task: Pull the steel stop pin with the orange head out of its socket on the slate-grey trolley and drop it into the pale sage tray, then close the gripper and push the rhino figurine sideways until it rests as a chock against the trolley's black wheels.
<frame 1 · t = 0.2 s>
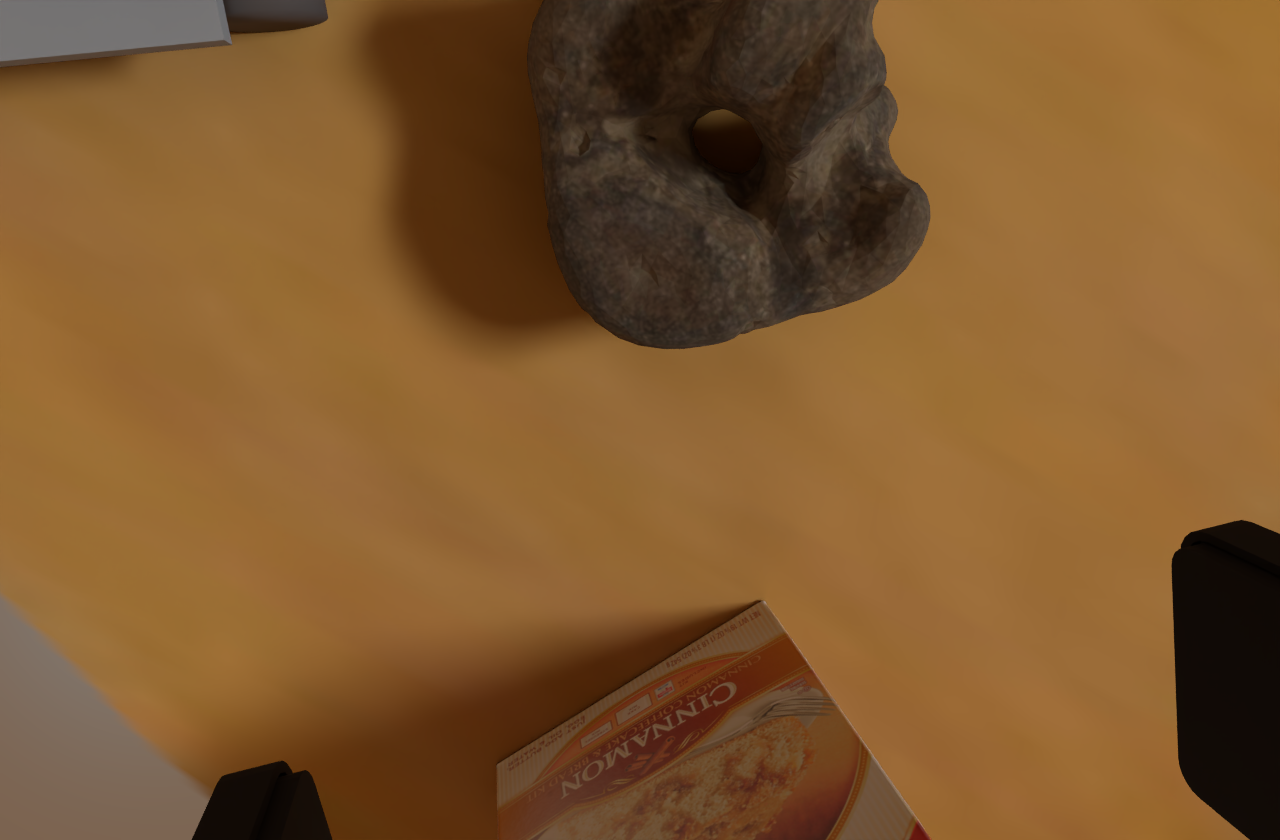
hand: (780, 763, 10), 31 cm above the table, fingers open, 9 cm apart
decorative stone: (687, 161, 39), on the table
coffeecake box: (662, 730, 45), on the table
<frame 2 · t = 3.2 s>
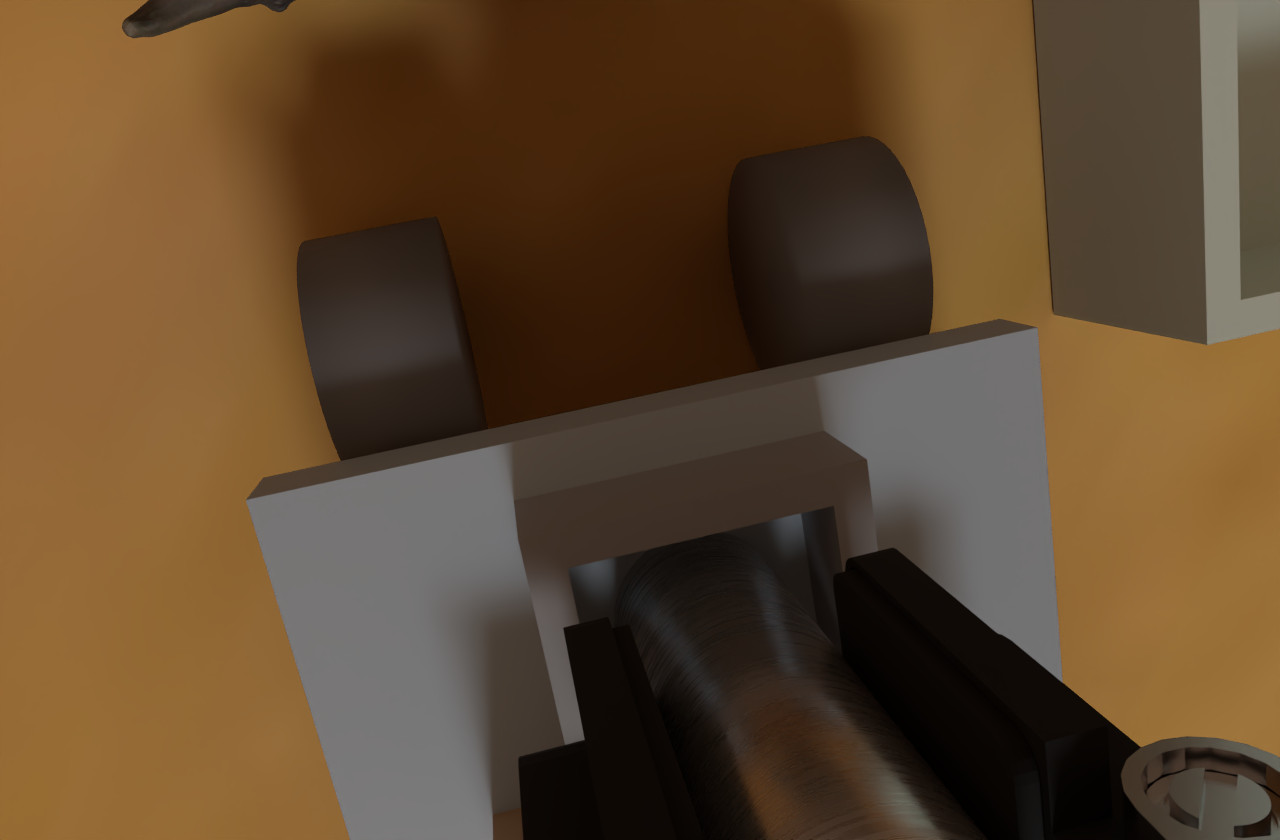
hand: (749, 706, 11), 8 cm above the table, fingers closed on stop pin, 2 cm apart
stop pin: (698, 609, 13), point 5 cm above the table, touching gripper, trolley
trolley: (649, 548, 18), on the table
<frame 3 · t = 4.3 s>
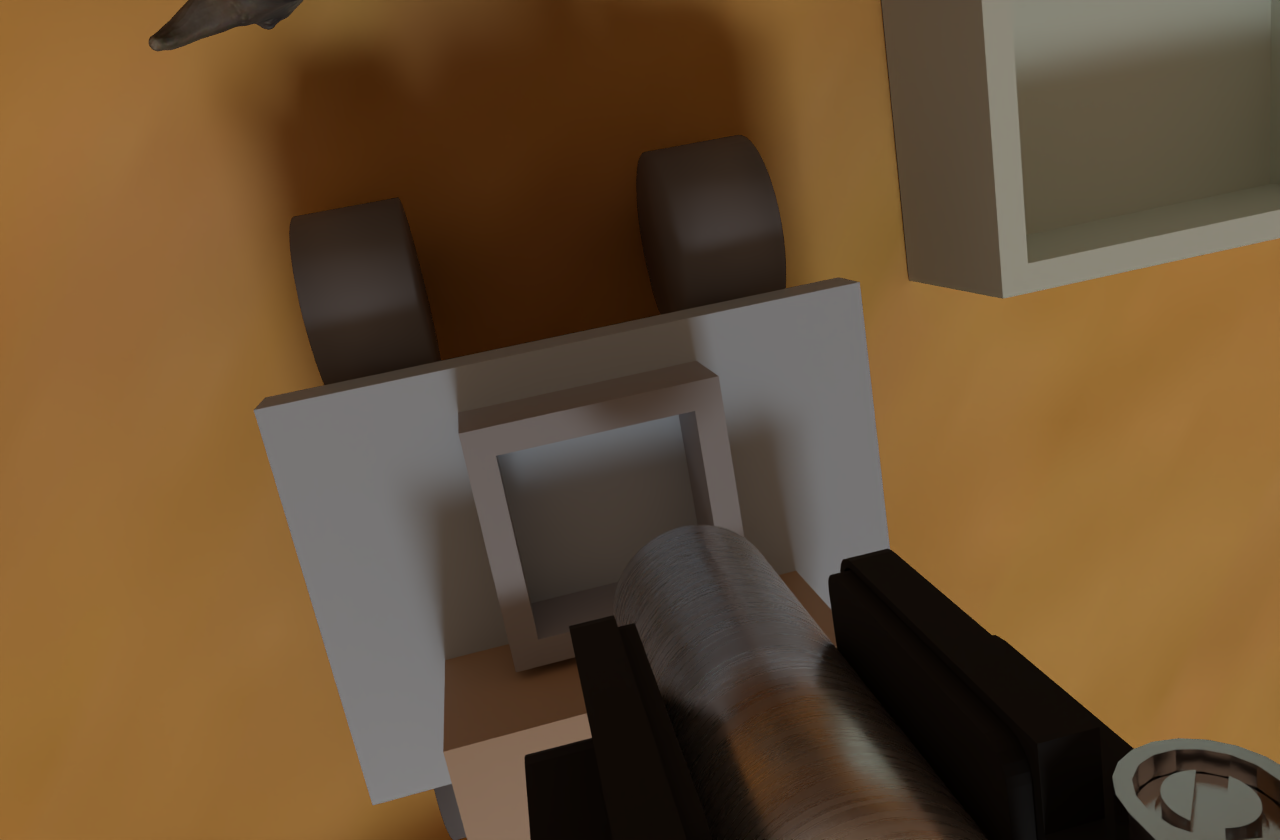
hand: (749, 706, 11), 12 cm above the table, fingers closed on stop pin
stop pin: (695, 603, 13), point 9 cm above the table, touching gripper
trolley: (578, 472, 22), on the table
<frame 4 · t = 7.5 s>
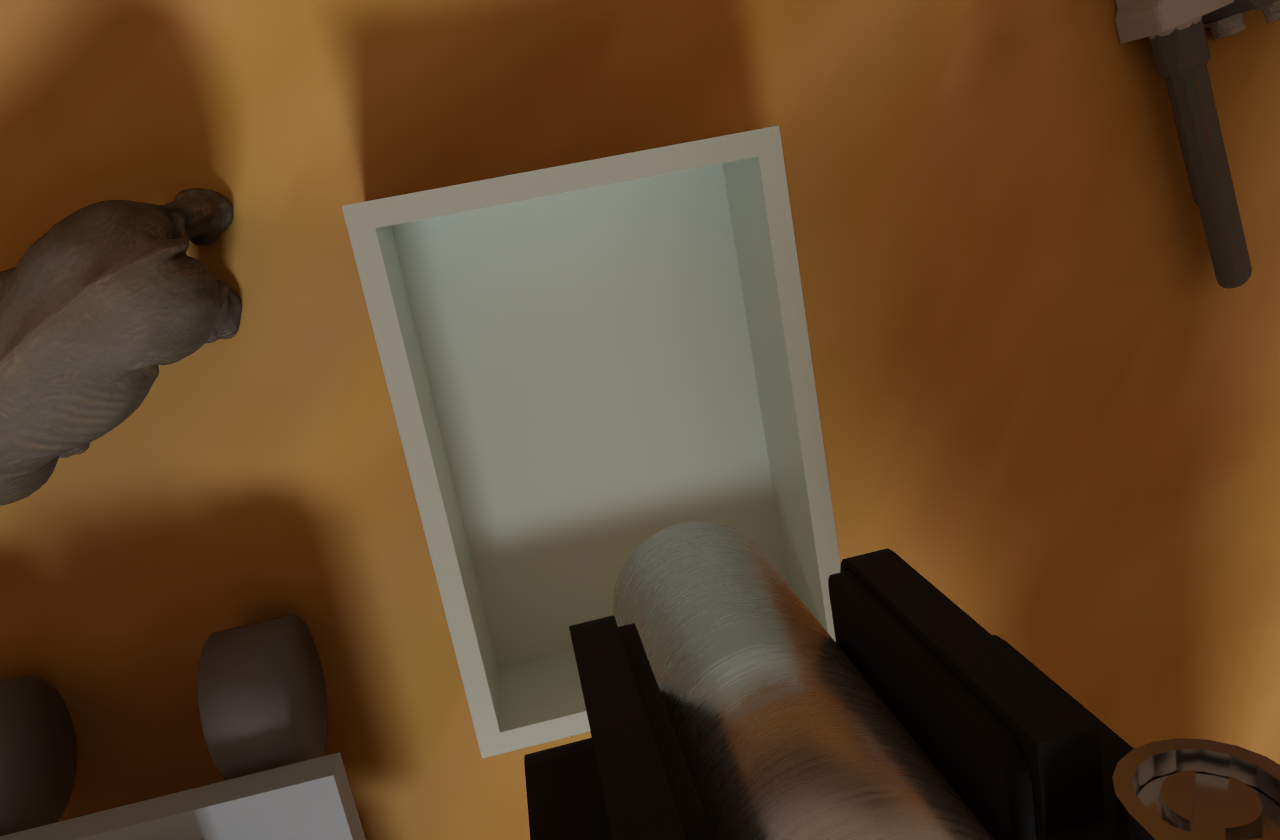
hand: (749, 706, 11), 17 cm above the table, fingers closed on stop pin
rhino figurine: (54, 386, 25), on the table
tray: (603, 421, 27), on the table
stop pin: (694, 599, 13), point 14 cm above the table, touching gripper
trolley: (210, 839, 28), on the table
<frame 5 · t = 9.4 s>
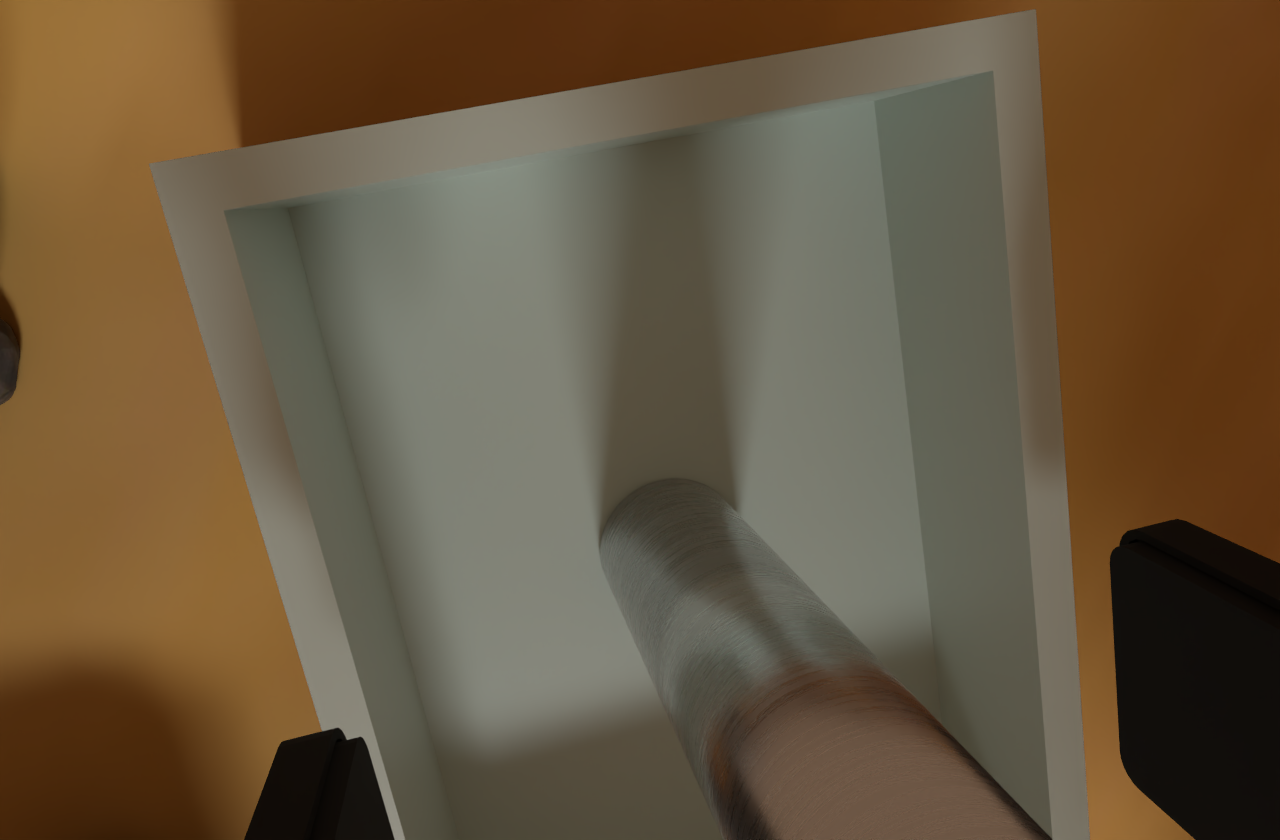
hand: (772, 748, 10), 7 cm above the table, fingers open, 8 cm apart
tray: (659, 536, 16), on the table
stop pin: (670, 546, 16), point 1 cm above the table, touching tray
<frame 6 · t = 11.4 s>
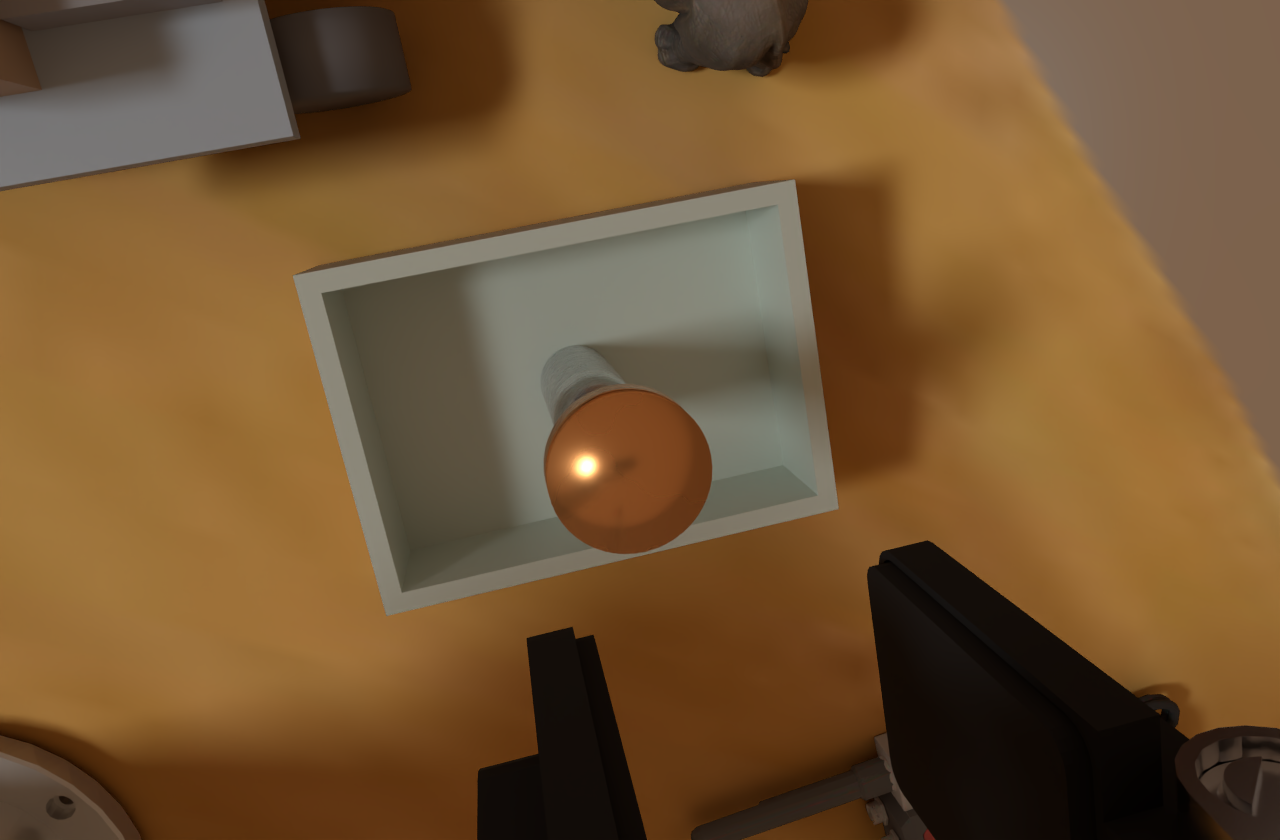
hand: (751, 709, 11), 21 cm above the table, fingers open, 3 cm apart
walkie-talkie: (933, 801, 38), on the table
tray: (573, 376, 31), on the table
stop pin: (577, 381, 30), point 1 cm above the table, touching tray
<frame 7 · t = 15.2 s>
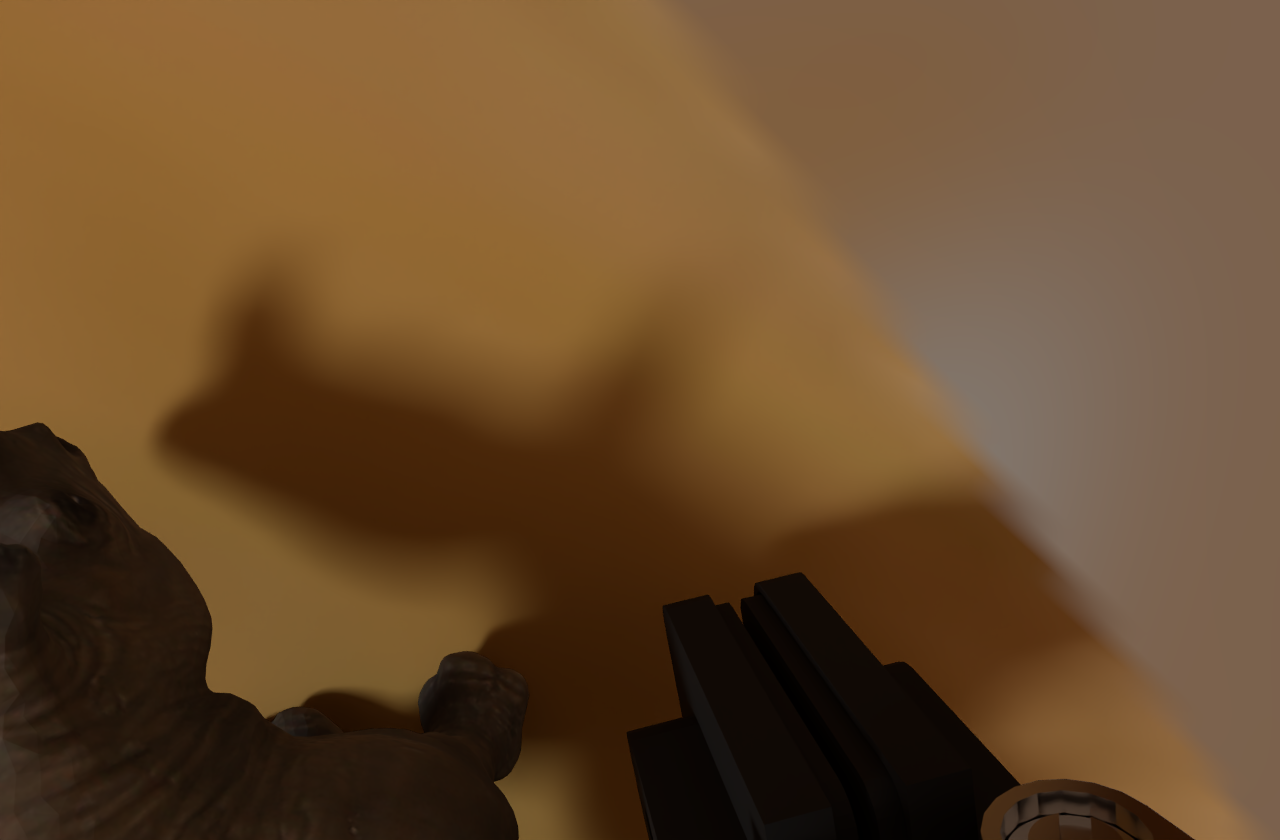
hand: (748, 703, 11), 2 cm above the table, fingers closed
rhino figurine: (398, 723, 12), on the table, touching gripper
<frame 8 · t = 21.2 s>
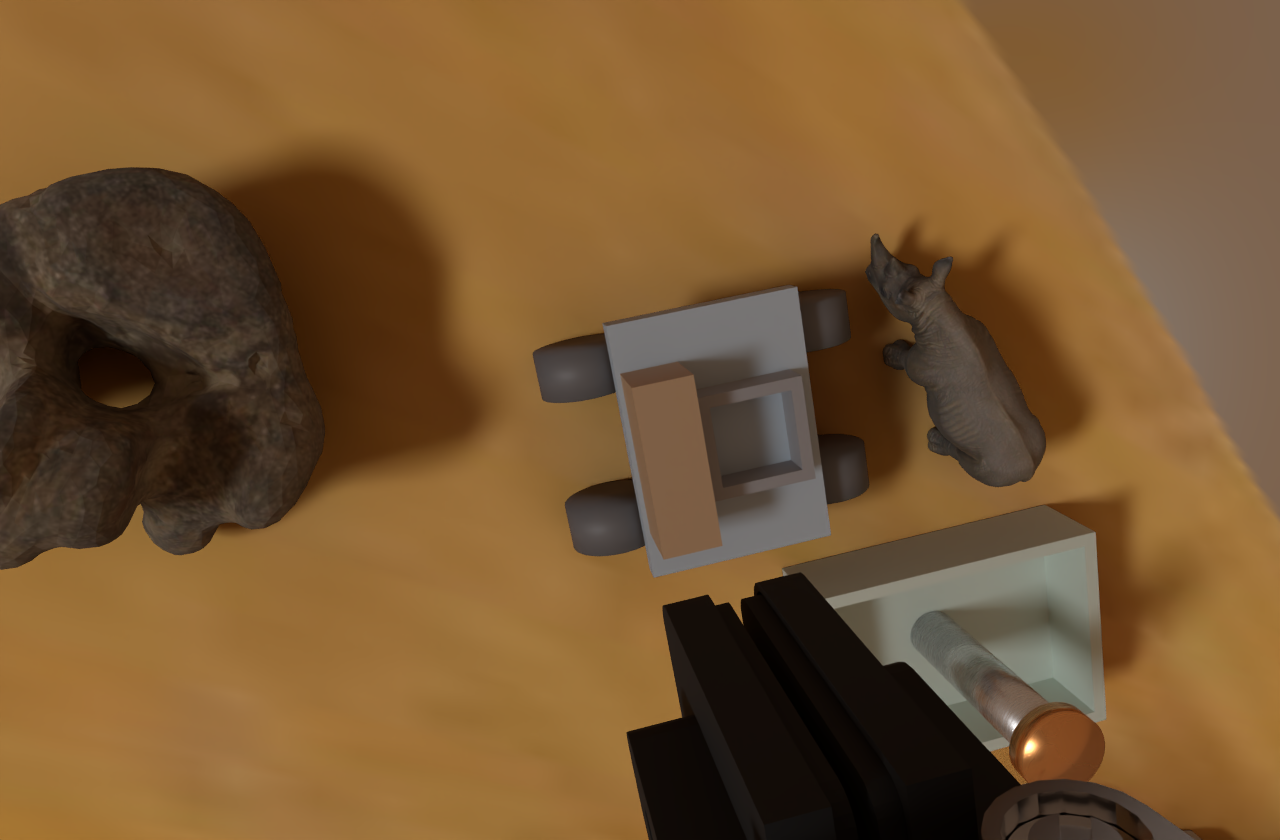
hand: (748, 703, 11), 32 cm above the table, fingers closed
decorative stone: (164, 345, 39), on the table
rhino figurine: (916, 350, 45), on the table
tray: (925, 626, 48), on the table
stop pin: (932, 632, 48), point 1 cm above the table, touching tray
trolley: (697, 409, 44), on the table
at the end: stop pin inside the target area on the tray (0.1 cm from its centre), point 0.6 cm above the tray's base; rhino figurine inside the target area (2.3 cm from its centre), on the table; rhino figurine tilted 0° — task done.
